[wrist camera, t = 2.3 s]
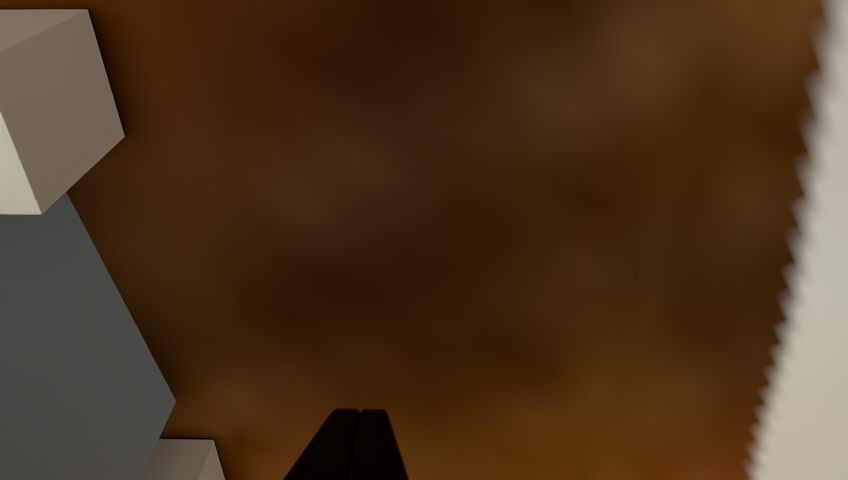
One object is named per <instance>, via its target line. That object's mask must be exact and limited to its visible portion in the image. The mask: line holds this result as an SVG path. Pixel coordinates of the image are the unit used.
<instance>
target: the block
mask: <svg viewBox="0 0 848 480" xmlns="http://www.w3.org/2000/svg"><path fill="white" fill-rule="evenodd" d="M175 403H176V400H175V398H174V396H173V394H172V392H171V391H170V389H169V387H168V385H167V383H166V381H165V379H164V377H163V375H162V373H161V371H160V370H159V368H158V366H157V364H156V362H155V360H154V358H153V356H152V354H151V352H150V351H149V349H148V347H147V345H146V343H145V341H144V339H143V337H142V335H141V333H140V332H139V330H138V328H137V326H136V324H135V322H134V320H133V318H132V316H131V314H130V312H129V311H128V309H127V307H126V305H125V303H124V301H123V299H122V297H121V295H120V293H119V292H118V290H117V288H116V286H115V284H114V282H113V280H112V278H111V276H110V274H109V273H108V271H107V269H106V267H105V265H104V263H103V261H102V259H101V257H100V255H99V253H98V252H97V250H96V248H95V246H94V244H93V242H92V240H91V238H90V236H89V234H88V233H87V231H86V229H85V227H84V225H83V223H82V221H81V219H80V217H79V215H78V213H77V212H76V210H75V208H74V206H73V204H72V202H71V200H70V198H69V196H68V194H67V193H66V192H65V193H64V194H63V195H62V196H61V197H60V198H59V199H58V200H57V201H56V202H55V203H53V204H52V205H51V206H50V207H49V208H48V209H47V210H46V211H45V212H44V213H43V214H0V480H140V478H141V475H142V473H143V471H144V469H145V467H146V465H147V463H148V461H149V458H150V456H151V454H152V452H153V450H154V448H155V446H156V444H157V441H158V439H159V437H160V435H161V433H162V431H163V429H164V426H165V424H166V422H167V420H168V418H169V416H170V414H171V412H172V409H173V407H174V405H175Z"/></svg>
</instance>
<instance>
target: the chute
mask: <svg viewBox="0 0 848 480" xmlns="http://www.w3.org/2000/svg"><path fill="white" fill-rule="evenodd" d="M124 137H125V136H124V132H123V129H122V125H121V122H120V119H119V115H118V112H117V108H116V105H115V102H114V98H113V95H112V91H111V88H110V84H109V81H108V78H107V74H106V71H105V67H104V64H103V60H102V57H101V54H100V50H99V47H98V43H97V40H96V37H95V33H94V30H93V26H92V23H91V19H90V16H89V13H88V9H40V10H0V214H43V213H44V212H45V211H46V210H47V209H48V208H49V207H50V206H51V205H52V204H53V203H55V202H56V201H57V200H58V199H59V198H60V197H61V196H62V195H63V194H64V193H65V192H66V191H67V190H68V189H69V188H70V187H72V186H73V185H74V184H75V183H76V182H77V181H78V180H79V179H80V178H81V177H82V176H83V175H84V174H85V173H86V172H88V171H89V170H90V169H91V168H92V167H93V166H94V165H95V164H96V163H97V162H98V161H99V160H100V159H101V158H102V157H103V156H105V155H106V154H107V153H108V152H109V151H110V150H111V149H112V148H113V147H114V146H115V145H116V144H117V143H118V142H119V141H121V140H122V139H123V138H124ZM140 480H225V478H224V474H223V471H222V467H221V464H220V461H219V457H218V454H217V450H216V447H215V443H214V440H186V439H158V441H157V444H156V446H155V448H154V450H153V452H152V454H151V456H150V458H149V461H148V463H147V465H146V467H145V469H144V471H143V473H142V475H141V478H140Z"/></svg>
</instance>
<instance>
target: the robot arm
mask: <svg viewBox="0 0 848 480" xmlns="http://www.w3.org/2000/svg"><path fill="white" fill-rule="evenodd" d="M283 480H409V478H408V475H407V472H406V469H405V466H404V463H403V460H402V457H401V454H400V450H399V447H398V444H397V441H396V438H395V435H394V432H393V429H392V426H391V423H390V419H389V416H388V413H387V412H386V410H384V409H363V410H362V411H361V412H360V411H359V410H358V409H351V408H338V409H335V410H333V411H332V412H331V414H330V415H329V416H328V418H327V419H326V420H325V422H324V423H323V425H322V426H321V427H320V429H319V430H318V432H317V433H316V434H315V436H314V437H313V439H312V440H311V441H310V443H309V444H308V446H307V447H306V448H305V450H304V451H303V453H302V454H301V455H300V457H299V458H298V459H297V461H296V462H295V464H294V465H293V466H292V468H291V469H290V471H289V472H288V473H287V475H286V476H285V478H284V479H283Z"/></svg>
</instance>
